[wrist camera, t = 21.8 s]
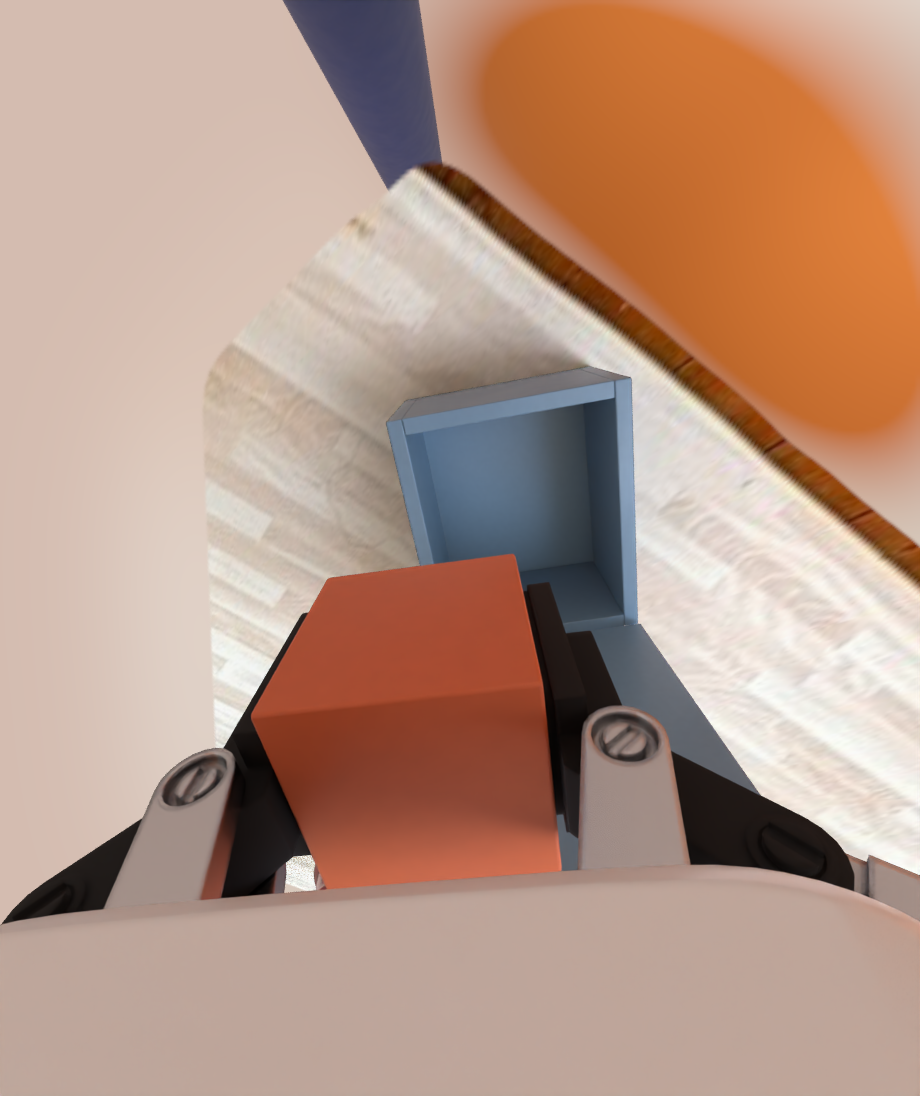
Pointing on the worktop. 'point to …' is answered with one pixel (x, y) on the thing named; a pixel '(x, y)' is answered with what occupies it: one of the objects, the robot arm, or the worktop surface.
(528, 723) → the orange cube
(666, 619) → the worktop surface
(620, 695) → the lid
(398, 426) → the blue hinged box
